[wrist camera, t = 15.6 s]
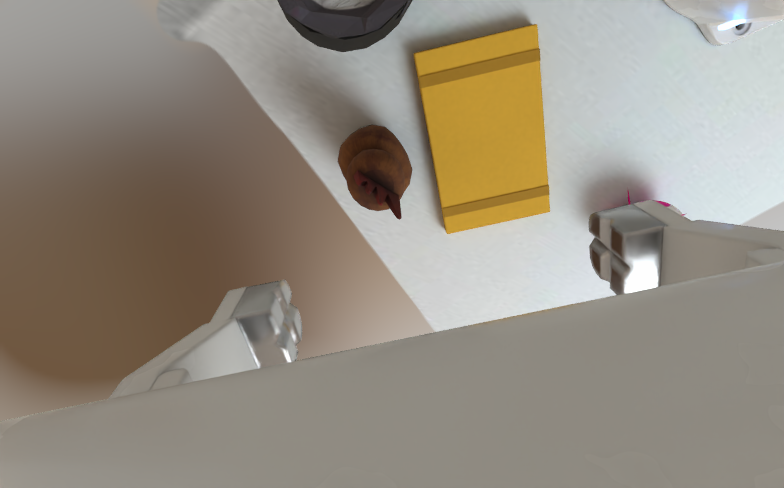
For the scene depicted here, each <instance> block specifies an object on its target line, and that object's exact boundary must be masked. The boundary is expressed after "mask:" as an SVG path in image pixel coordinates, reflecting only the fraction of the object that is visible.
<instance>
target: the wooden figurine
mask: <svg viewBox="0 0 784 488" xmlns="http://www.w3.org/2000/svg"><path fill="white" fill-rule="evenodd" d="M338 163H339V166H340V168H341V171H342V173H343V176H344V177H345V179H346V180H347V185H348V190H349V191H350V193H351V195H352V197H353V199H354V200H355V201H357V202H358V203H359V204H360V205H361V206H363V207H365V208H367V209H370V210H375V211H381V210H387V209H389V208H390V209H391V210H392V212H393V213H394V215H395V216H396V218H398V219H399V220H400V219H401V208H400V199H401V197H402V195H403V193H404V191H405V190H406V188H407V187H408V186H409V184H410V179H411V174H412V167H411V164H410V161H409V158H408V155H407V153H406V151H405V150H404V148H403V146H402V144H401V143H400V142H399V140H398V139H397V138H396V137H395V135H394V134H393V133H391V132H390V131H389V130H388V129H387V128H386V127H383V126H377V125H370V126H366V127H363V128H360V129H358V130H357V131H355V132H354V133H352V134H351V135H350V136H349V137H348V138H347V139H346V140H345V141H344V142H343V144H342V145H341V147H340V151H339V157H338Z"/></svg>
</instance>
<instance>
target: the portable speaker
mask: <svg viewBox="0 0 784 488" xmlns="http://www.w3.org/2000/svg"><path fill="white" fill-rule="evenodd" d="M278 2H279V4H280V6H281V8H282V10H283V12H284V14H285V17H286V19H287V20H288V21H289V22H290V24H291V25H292V26H293V27H294V28H295V29H296V30H297V31H298V32H299V33H300V34H301V35H302V36H303V37H304V38H306V39H307V40H309V41H310V42H312V43H314V44H315V45H317V46H319V47H323V48H327V49H331V50H336V51H340V52H346V51H352V50H358V49H364V48H367V47H369V46H371V45H372V44H374V43H376V42H378V41H379V40H381V39H383V38H385V37H386V36H387V35H388V34H389V33H390V32H391V31H392V30H393V29H394V28H395V27H396V26H397V25H398V24H399V22H400V21H401V19H402V17H403V16H404V14H405V12H406V11H407V9H408V7H409V5H410V4H411V2H412V0H278Z"/></svg>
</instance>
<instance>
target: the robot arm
mask: <svg viewBox="0 0 784 488" xmlns="http://www.w3.org/2000/svg"><path fill="white" fill-rule="evenodd" d="M663 1H664V2H665V3H666V4H667V5H668V6H669V7H670V8H672V9H673V10H674V11H676V12H677V13H679V14H681V15H683V16H685V17H687V18H689V19H691V20H692V21H694V22H695V23H696V24H697V25H698V26H699V28H700V30H701V31H702V33H703V35H704V36H705V38H706V39H707V40H708V41H709V42H710V43H711V44H713V45H725V44H729V43H732V42H734V41H736V40H739V39H741V38H743V37H746V36H748V35H750V34H753V33H755V32H757V31H760V30H762V29H764V28H767V27H769V26H771V25H774V24H776V23H778V22H780V21H783V20H784V0H663ZM736 25H739V26H738V28H737V29H736ZM589 231H590V232H591V233H592V234H593V235H594V236H595V238H594V240H593V241H592V243H591V244H590V246H589V249H590V259H591V262H592V266H593V268H594V270H595V272H596V274H597V275H598V276H599V277H600V278H601V279H603V280H606V281H609V282H610V288H611V289H612V290H613V291H614V292H615V293H616V294H617V295H615V296H610V297H606V298H601V299H596V300H591V301H586V302H581V303H576V304H571V305H566V306H561V307H557V308H552V309H547V310H542V311H537V312H532V313H527V314H522V315H517V316H512V317H508V318H503V319H498V320H493V321H488V322H483V323H478V324H473V325H468V326H463V327H459V328H454V329H449V330H444V331H439V332H434V333H429V334H424V335H419V336H415V337H410V338H405V339H400V340H395V341H390V342H385V343H380V344H375V345H370V346H365V347H361V348H356V349H351V350H346V351H341V352H336V353H331V354H326V355H321V356H316V357H312V358H307V359H302V360H297V361H296V359H297V355H298V350H297V348H296V345H297V344H298V343H299V342H300V341H301V337H302V323H301V318H300V314H299V312H298V309H297V307H295V306H294V305H293V304H291V303H290V299H291V295H292V293H291V290H290V288H289V285H288V283H287V282H286V281H285V280H280V281H275V282H270V283H265V284H260V285H255V286H250V287H243V288H239V289H235V290H231V291H228V293H227V294H226V296H225V298H224V300H223V301H222V303H221V305H220V306H219V308H218V310H217V311H216V313H215V315H214V316H213V318H212V320H211V322H210V323H208V324H204V325H202V326H201V327H199V328H198V329H196V330H195V331H193V332H192V333H190V334H189V335H187V336H186V337H185V338H183V339H182V340H180V341H179V342H177V343H176V344H174V345H173V346H171V347H170V348H168V349H167V350H165V351H164V352H162V353H161V354H160V355H158V356H157V357H155V358H154V359H152V360H151V361H149V362H148V363H146V364H145V365H143V366H142V367H140V368H139V369H137V370H136V371H134V372H133V373H132V374H130V375H129V376H127V377H126V378H124V379H123V380H122V381H121V383H120V384H119V385H118V387H117V388H116V389H115V391H114V392H113V393H112V395H111V396H110V398H109V399H107V400H102V401H97V402H92V403H87V404H82V405H78V406H72V407H67V408H63V409H58V410H53V411H48V412H43V413H38V414H33V415H29V416H24V417H19V418H14V419H9V420H4V421H0V488H784V231H778V230H771V229H763V228H756V227H748V226H741V225H734V224H726V223H718V222H711V221H703V220H696V221H691V220H689V219H687V218H686V217H684V216H682V215H680V214H678V213H676V212H675V211H673V210H671V209H669V208H667V207H666V206H664V205H662V204H660V203H658V202H656V201H655V200H648V201H644V202H640V203H636V204H630V205H625V206H621V207H617V208H613V209H609V210H604V211H600V212H596V213H593V214H592V215H590V219H589Z"/></svg>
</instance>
